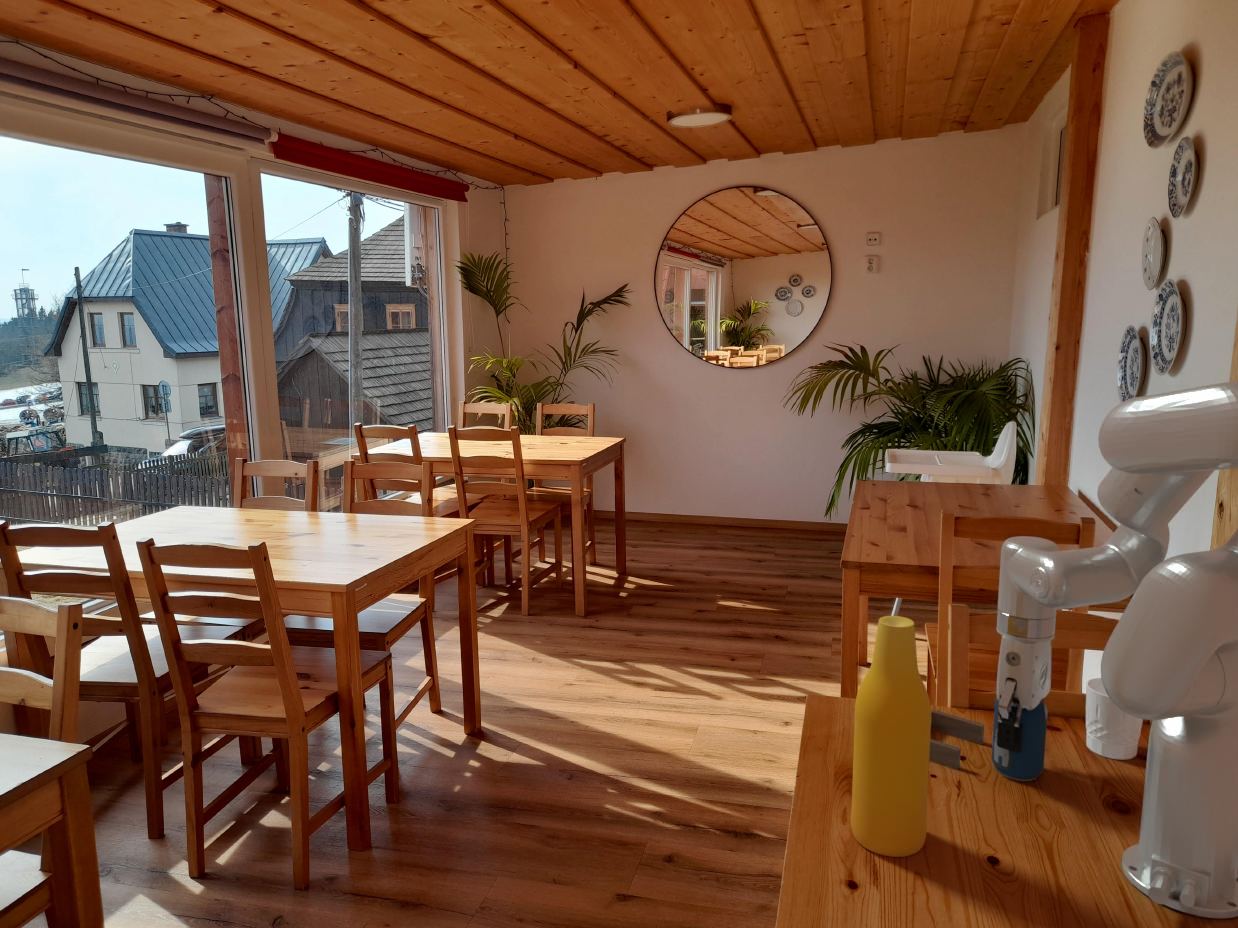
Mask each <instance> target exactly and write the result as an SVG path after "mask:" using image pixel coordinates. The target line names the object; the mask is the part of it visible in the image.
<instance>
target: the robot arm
mask: <svg viewBox="0 0 1238 928" xmlns="http://www.w3.org/2000/svg"><path fill="white" fill-rule="evenodd" d="M1097 441H1098V447H1099V451H1100V454H1101V456H1102V457H1103V459H1104V460H1105V461H1106V463H1107V464H1108V465H1109V466H1111V468H1110V470H1109V471H1108V472H1107V474H1106V475H1105V477H1104V478H1103V479H1102V480H1101V482H1100V483H1099V485H1098V487H1097V492H1096V494H1097V498H1098V499H1097V500H1098V503H1099V504H1100V506H1101V507H1102V509H1103V510H1104V511H1105V512H1106V513H1107V514H1108V515H1109V516H1110V517H1111V518H1112V519H1113V520H1115V521H1116V522H1117V523H1118V524H1119V525H1118V527H1117V528H1116V529H1115V531H1114V532H1113V533H1112V534H1111V535H1110V537H1109V538H1108V539H1107V540H1106V541H1105V542H1104V543H1103V544H1101V546H1095V547H1085V548H1078V549H1077V548H1076V549H1068V550H1067V549H1066V550H1060V547H1059V546H1058V544H1056V543H1055V542H1054V541H1052V540H1050V539H1047V538H1044V537H1038V536H1026V535H1022V536H1021V535H1020V536H1019V535H1018V536H1012V537H1009V538H1007V539H1006V540H1004V542H1003V543H1002V544H1001V545H1002V546H1001V550H1000V560H999V561H1000V562H999V563H1000V564H999V583H998V598H997V616H996V617H997V619H996V632H997V633H998V634H1000V636H1001V641H1000V646H999V654H998V655H999V656H998V664H997V676H996V699H998V701H999V704H998V709H999V711H998V713H999V716H998V734H997V746H998V747H1000V748H1003V749H1006V750H1010V751H1013V752H1016V753H1020V752H1021V750H1022V736H1023V726H1022V725H1020V724H1021V720H1022V715H1023V711H1024V708H1027V710H1032V709H1034V708H1035V707H1036V706H1037V705H1038V704H1039V703H1040V701H1041V700H1042V699H1043V698H1044V699H1045V698H1046V697H1047V695H1049V693H1050V691H1051V685H1052V682H1051V681H1052V641H1053V640H1054V639H1055V635H1056V618H1057V610H1066V609H1073V608H1081V607H1083V608H1084V607H1086V606H1093V605H1103V604H1110V603H1117V602H1120V601H1123V600H1125V599H1127V598H1129V597H1131V596H1132V597H1131V598H1130V601H1129V603H1128V604H1127V605H1126V607H1125V609H1124V611H1123V613H1122V615H1121V616H1120V619H1118V620H1119V621H1118V622H1117V624H1116V626H1115V627H1114V629H1113V631H1112V632H1111V635H1110V636H1109V639H1108V640H1107V643H1106V644H1105V647H1104V649H1103V652H1102V656H1101V660H1100V678H1102V683H1103V686H1104V689H1105V691H1106V693H1107V695H1108V696H1109V698H1110V699H1111V701H1112V702H1113V703H1114V704H1115V705H1116V706H1117V707H1118V708H1119V709H1121V710H1122V711H1124V712H1125V713H1127V714H1129V715H1131V716H1134V717H1137V718H1140V719H1143V720H1146V721H1151V722H1152V723H1151V726H1150V730H1149V736H1148V746H1147V754H1146V764H1145V766H1146V767H1145V775H1144V776H1145V777H1144V787H1143V798H1142V809H1141V819H1140V830H1139V840H1138V843H1135V844H1133V845H1131V846H1129V847H1127V848H1126V849H1125V851H1124V852H1123V854H1122V856H1121V857H1122V859H1121V868H1122V871H1123V873H1124V876H1125V877H1126V878H1127V879H1128V881H1129V882H1130V883H1131V884H1132V885H1133V886H1134V887H1135V888H1137V889H1138V890H1139V891H1141V893H1142V894H1145V895H1146V896H1147V897H1149V899H1150V900H1151V901H1152V902H1153V903H1155V904H1158V905H1164V906H1166V907H1168V908H1171V909H1174V910H1176V911H1179V912H1182V913H1185V914H1188V915H1192V916H1195V917H1202V918H1207V919H1208V918H1209V919H1233V918H1236V917H1238V527H1237V528H1236V529H1235V531H1234V533H1233V534H1232V535H1231V537H1230V538H1229V539H1228V540H1227V541H1226V542H1225V543H1224V544H1223V545H1222V546H1218V547H1216V548H1214V549H1210V550H1204V551H1202V550H1201V551H1195V552H1189V553H1181V554H1179V555H1178V554H1177V555H1174V556H1172V557H1169V558H1166V557H1167V553H1168V550H1169V543H1170V538H1171V535H1170V533H1171V532H1170V528H1169V527H1170V526H1169V523H1170V522H1171V521H1172V520H1173V519H1174V518H1175V517H1176V516H1177V514H1178V513H1179V512H1180V511H1181V510H1182V508H1183V507H1184V506H1185V505H1186V504H1187V502H1189V501H1190V499H1191V498H1192V497H1193V496H1194V494H1195V493H1197V491H1198V490H1199V489H1200V488H1201V487H1202V486H1203V484H1205V482H1206V481H1207V480H1208V478H1209V477H1210V476H1211V475H1212V474H1213V473H1214V472H1215V471H1219V470H1220V471H1221V470H1237V469H1238V381H1228V382H1227V381H1226V382H1220V383H1213V384H1207V385H1203V386H1202V385H1201V386H1196V387H1191V388H1185V389H1180V390H1175V391H1169V392H1164V393H1157V394H1150V395H1149V394H1148V395H1143V396H1136V397H1132V398H1129V399H1125V400H1124V401H1122V402H1120V403H1119V404H1117V405H1116V406H1115V407H1113V408H1112V409H1111V410H1110V411H1109V413H1108V414H1106V416H1105V418H1104V419H1103V420H1102V423H1101V425H1100V428H1099V431H1098V440H1097ZM1013 699H1016V700H1019V701H1020V704H1018V703H1014V702H1012V701H1013ZM1011 707H1013V708H1017V713H1016V716H1015V714H1014V712H1012V711H1011Z"/></svg>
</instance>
